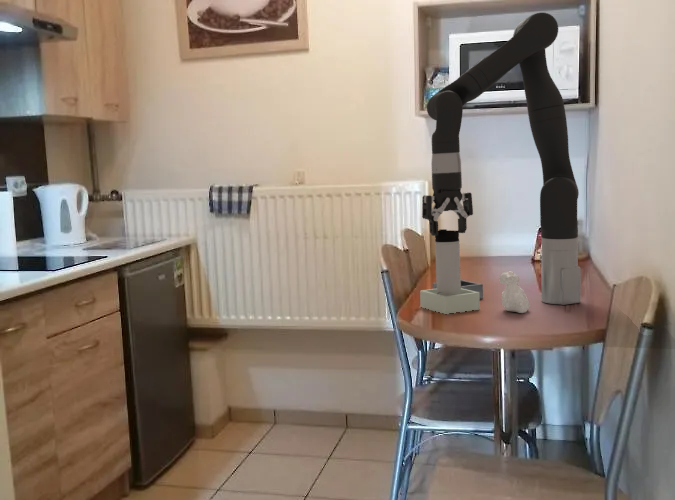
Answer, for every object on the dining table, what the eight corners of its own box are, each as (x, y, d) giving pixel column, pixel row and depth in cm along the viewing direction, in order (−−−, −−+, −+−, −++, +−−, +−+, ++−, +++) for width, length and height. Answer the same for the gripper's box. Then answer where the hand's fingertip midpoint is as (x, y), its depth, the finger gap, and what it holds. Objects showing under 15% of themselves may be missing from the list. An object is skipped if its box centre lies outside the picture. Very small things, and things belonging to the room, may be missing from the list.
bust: (514, 314, 186) (487, 280, 186) (538, 297, 183) (510, 263, 184) (513, 324, 174) (484, 288, 175) (539, 306, 172) (509, 270, 173)
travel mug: (433, 306, 184) (430, 229, 182) (442, 301, 189) (439, 227, 187) (456, 307, 181) (453, 229, 179) (464, 302, 186) (462, 227, 184)
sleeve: (482, 298, 197) (482, 284, 196) (454, 302, 193) (454, 287, 192) (460, 292, 206) (460, 279, 206) (432, 296, 202) (432, 282, 202)
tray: (479, 309, 182) (479, 292, 182) (445, 314, 178) (445, 297, 177) (453, 302, 193) (452, 286, 192) (420, 307, 188) (420, 290, 188)
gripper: (431, 172, 174) (434, 237, 176) (477, 169, 181) (479, 232, 182) (415, 172, 181) (417, 235, 183) (460, 170, 187) (462, 231, 189)
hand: (448, 234), depth 183 cm, fingers open, 8 cm apart
